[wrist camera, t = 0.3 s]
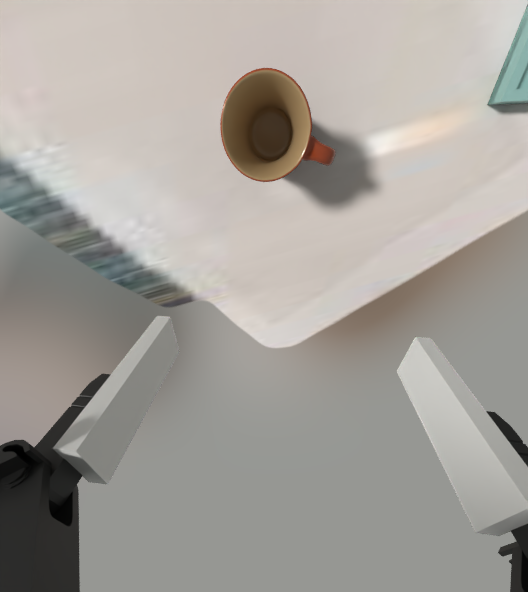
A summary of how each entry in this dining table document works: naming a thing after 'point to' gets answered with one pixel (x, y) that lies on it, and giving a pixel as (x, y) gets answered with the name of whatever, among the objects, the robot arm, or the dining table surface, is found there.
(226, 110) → the mug
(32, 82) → the dining table surface
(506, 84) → the tray
